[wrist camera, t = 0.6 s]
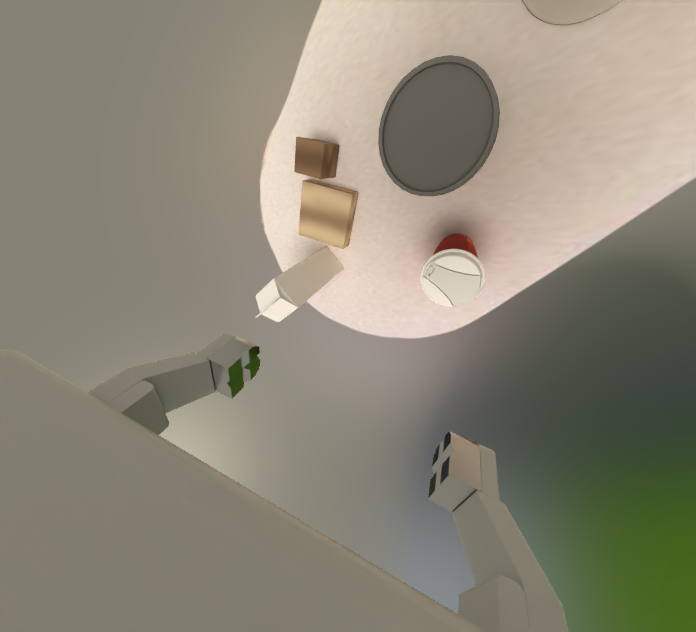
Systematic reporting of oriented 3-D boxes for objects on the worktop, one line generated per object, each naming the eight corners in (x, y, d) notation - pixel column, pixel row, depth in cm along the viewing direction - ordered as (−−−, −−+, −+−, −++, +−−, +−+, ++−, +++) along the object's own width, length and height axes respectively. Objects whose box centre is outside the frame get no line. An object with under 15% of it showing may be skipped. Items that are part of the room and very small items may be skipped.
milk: (344, 268, 56) (288, 317, 39) (326, 282, 60) (267, 333, 42) (326, 245, 55) (260, 285, 38) (309, 260, 59) (241, 304, 41)
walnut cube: (314, 139, 46) (296, 136, 41) (339, 145, 45) (324, 143, 40) (311, 170, 49) (294, 171, 44) (335, 177, 48) (320, 179, 43)
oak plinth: (310, 179, 49) (302, 180, 47) (358, 192, 47) (352, 194, 45) (306, 231, 55) (298, 234, 53) (348, 244, 53) (342, 248, 51)
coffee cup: (422, 258, 49) (407, 290, 37) (449, 218, 44) (441, 239, 32) (462, 281, 48) (459, 321, 36) (493, 242, 43) (502, 274, 31)
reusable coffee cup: (388, 162, 43) (357, 162, 31) (436, 68, 36) (419, 22, 24) (451, 203, 43) (444, 219, 31) (513, 116, 35) (535, 94, 23)
